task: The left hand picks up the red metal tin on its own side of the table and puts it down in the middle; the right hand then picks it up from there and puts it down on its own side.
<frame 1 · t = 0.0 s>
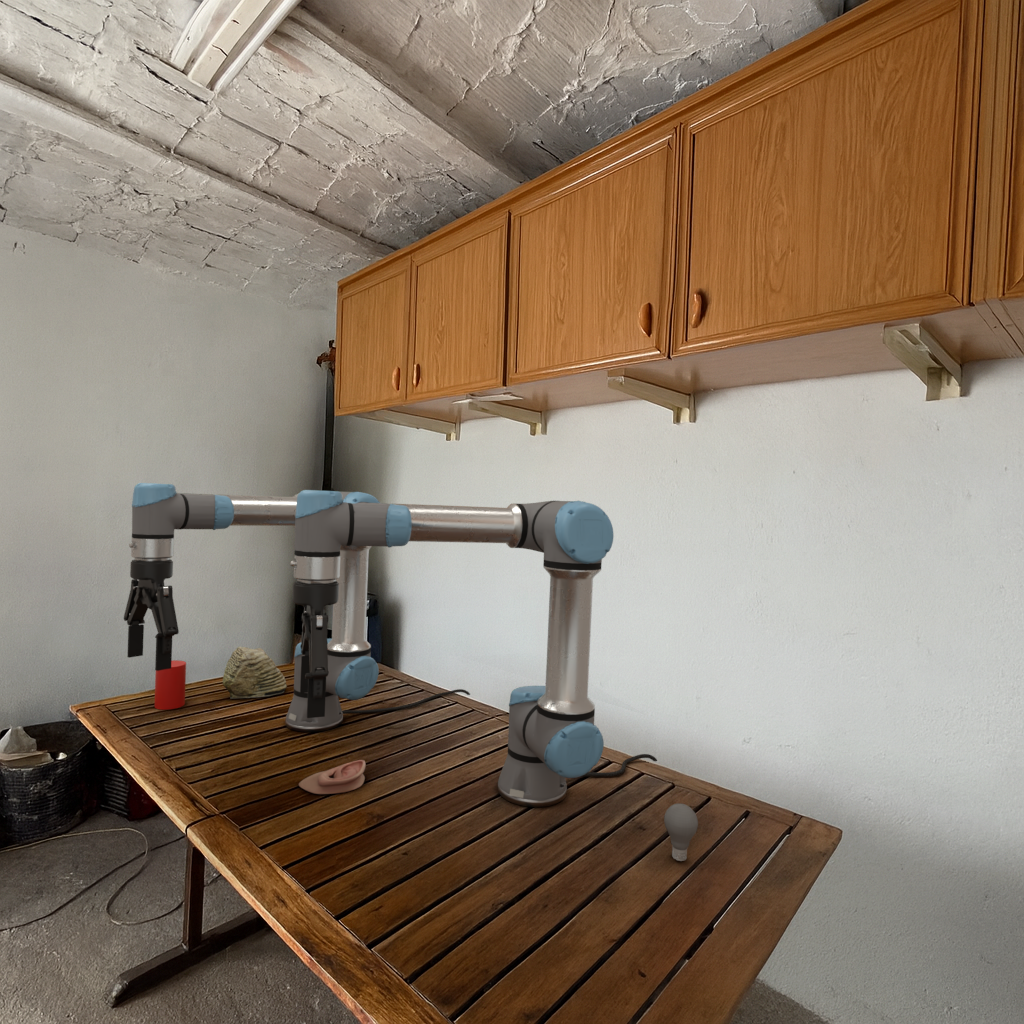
left hand: (148, 662, 129), 28 cm above the table, tool pointing down, fingers open, 13 cm apart
right hand: (311, 703, 109), 28 cm above the table, tool pointing down, fingers open, 13 cm apart
tin: (169, 705, 185), on the table
anatomical model: (332, 784, 140), on the table
fossil: (254, 694, 198), on the table
light bulb: (679, 860, 116), on the table
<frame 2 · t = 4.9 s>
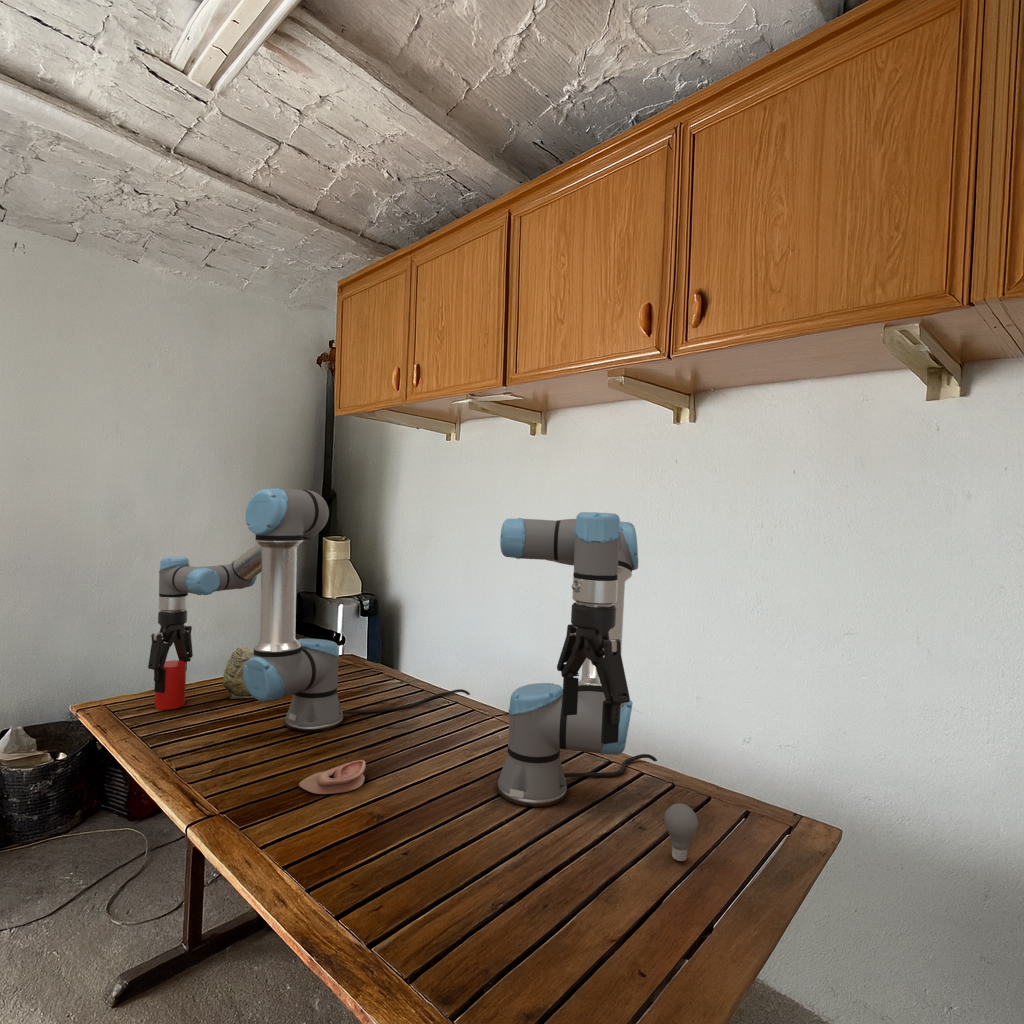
left hand: (170, 687, 185), 5 cm above the table, tool pointing down, fingers closed on tin, 8 cm apart
right hand: (588, 727, 108), 26 cm above the table, tool pointing down, fingers open, 13 cm apart
tin: (169, 705, 185), on the table, touching left hand
everything else where it was.
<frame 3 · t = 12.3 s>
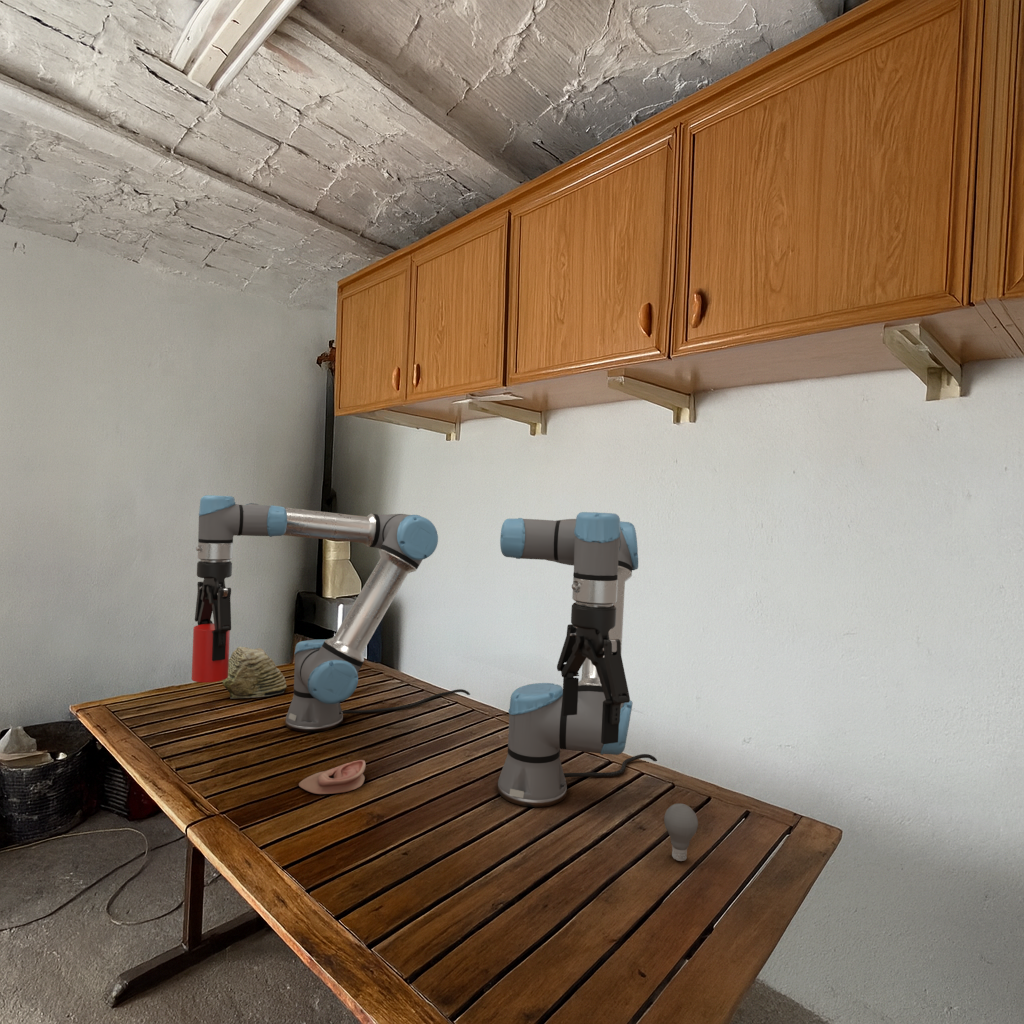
left hand: (211, 656, 150), 24 cm above the table, tool pointing down, fingers closed on tin, 8 cm apart
right hand: (588, 727, 108), 26 cm above the table, tool pointing down, fingers open, 13 cm apart
tin: (209, 677, 150), point 19 cm above the table, touching left hand
everything else where it was.
when the left hand's fingers open (7 cm above the table, at t = 19.7 s): tin drops 1 cm, on the table.
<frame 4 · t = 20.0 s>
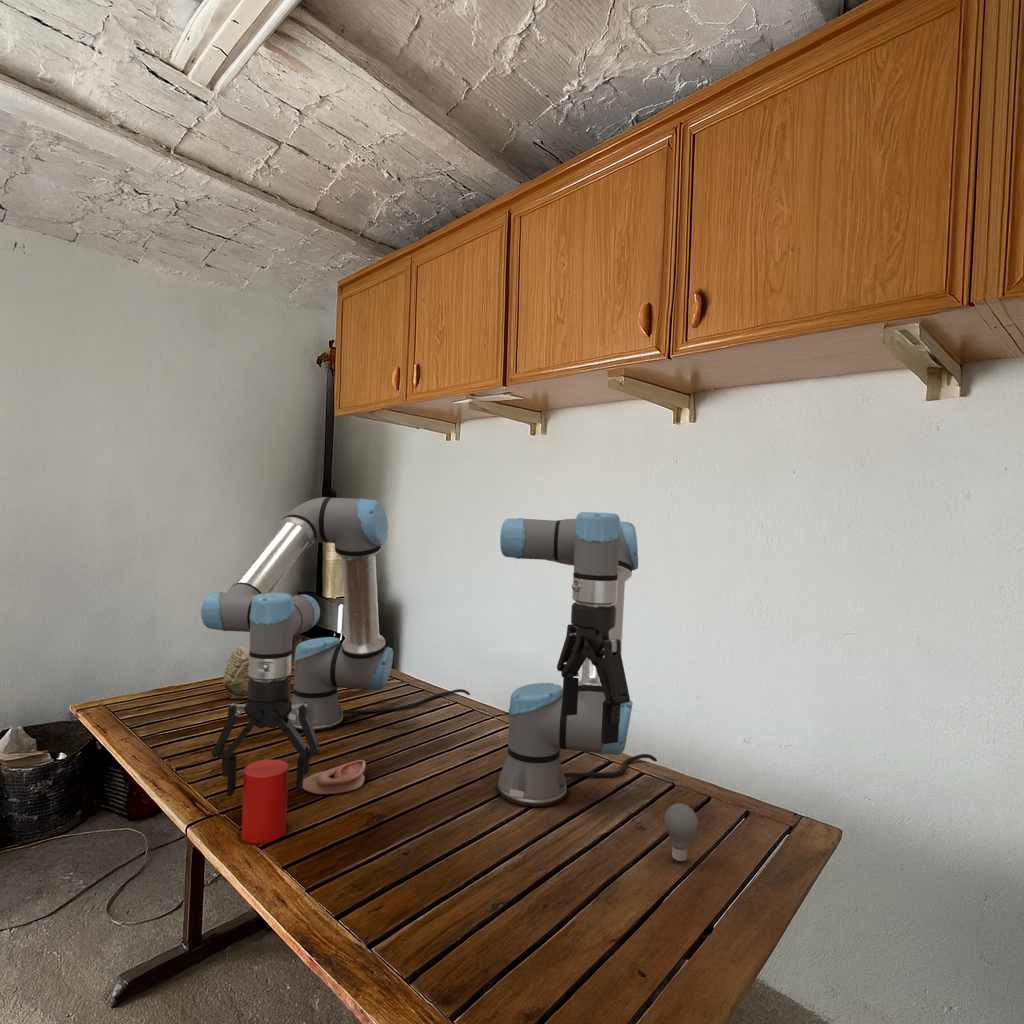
left hand: (265, 792, 119), 8 cm above the table, tool pointing down, fingers open, 11 cm apart
right hand: (588, 727, 108), 26 cm above the table, tool pointing down, fingers open, 13 cm apart
tin: (264, 832, 119), on the table
everything else where it was.
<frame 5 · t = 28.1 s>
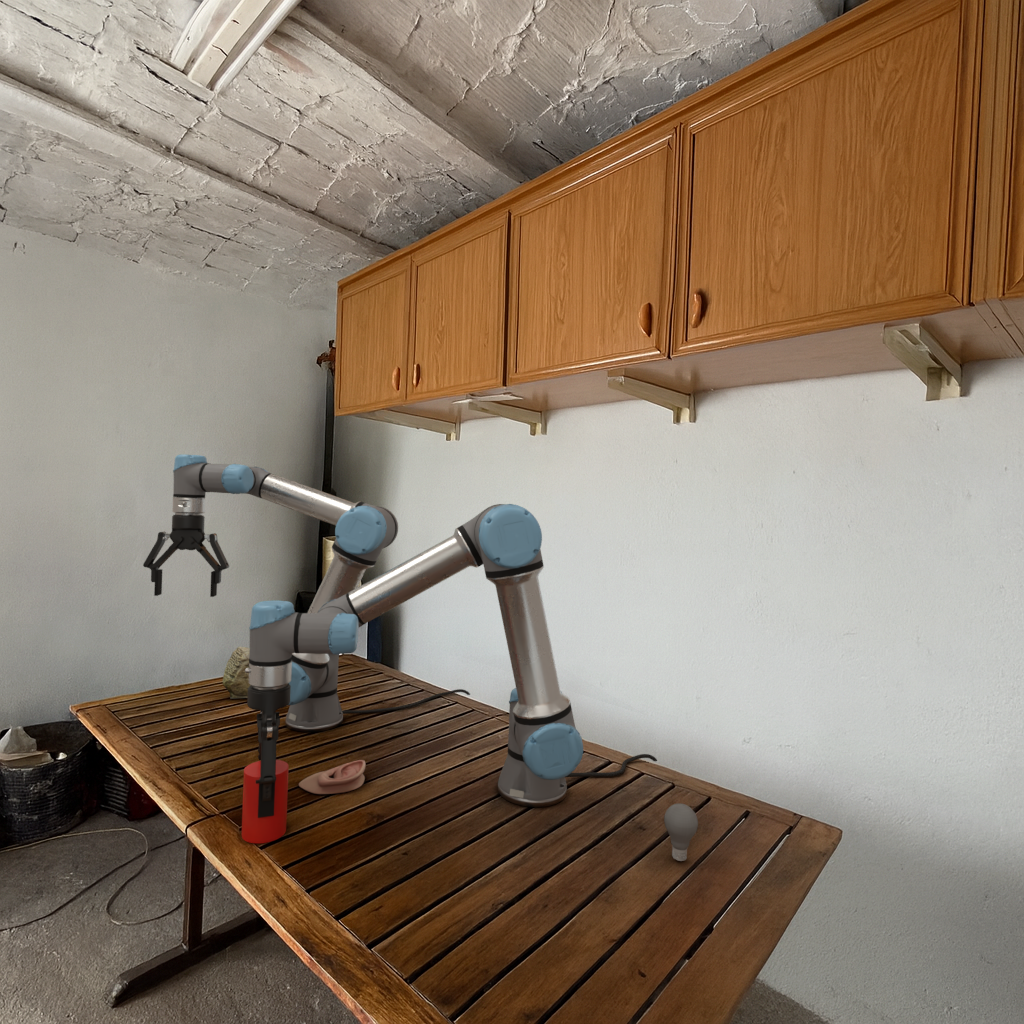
left hand: (185, 595, 165), 36 cm above the table, tool pointing down, fingers open, 13 cm apart
right hand: (265, 804, 119), 5 cm above the table, tool pointing down, fingers closed on tin, 8 cm apart
tin: (264, 832, 119), on the table, touching right hand
everything else where it was.
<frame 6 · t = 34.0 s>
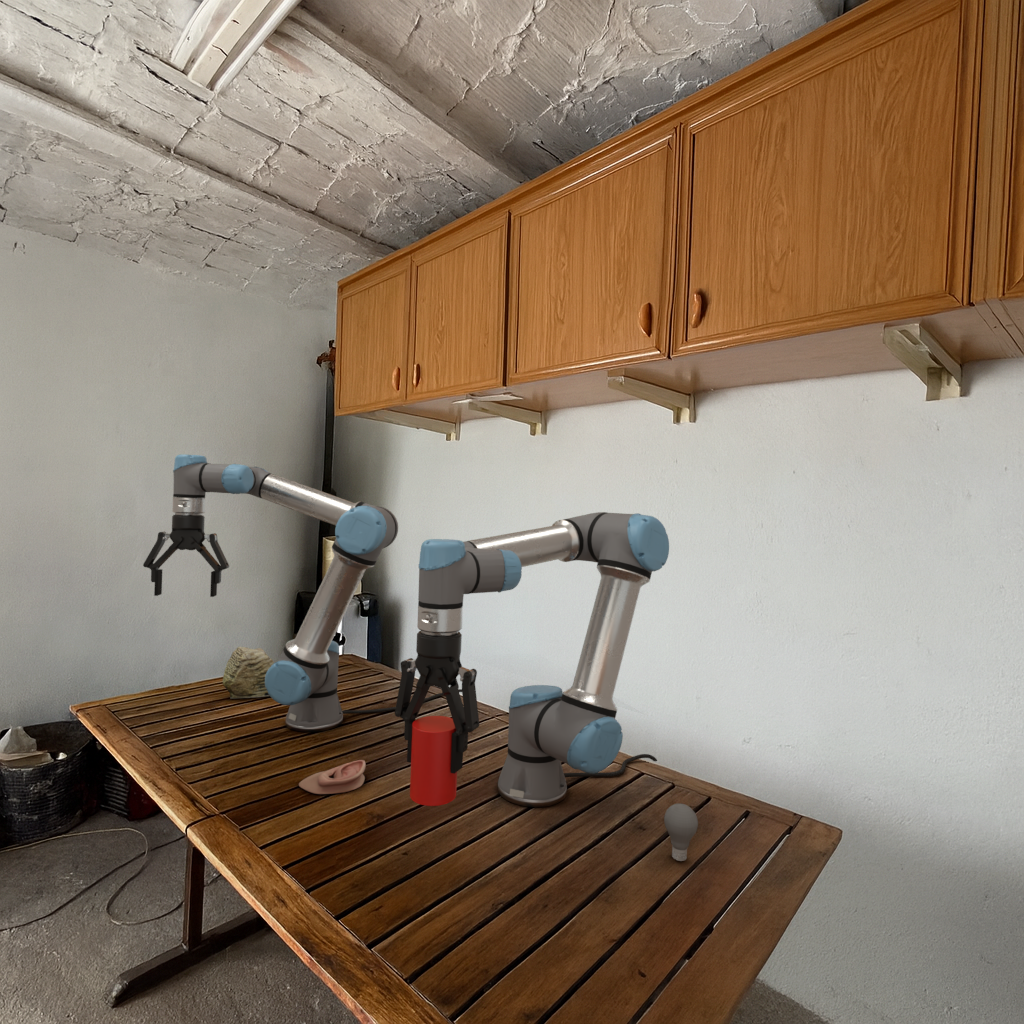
left hand: (185, 595, 165), 36 cm above the table, tool pointing down, fingers open, 13 cm apart
right hand: (434, 764, 107), 19 cm above the table, tool pointing down, fingers closed on tin, 8 cm apart
tin: (433, 794, 107), point 14 cm above the table, touching right hand
everything else where it was.
when the right hand's fingers open (7 cm above the table, at t = 39.9 s): tin drops 1 cm, on the table.
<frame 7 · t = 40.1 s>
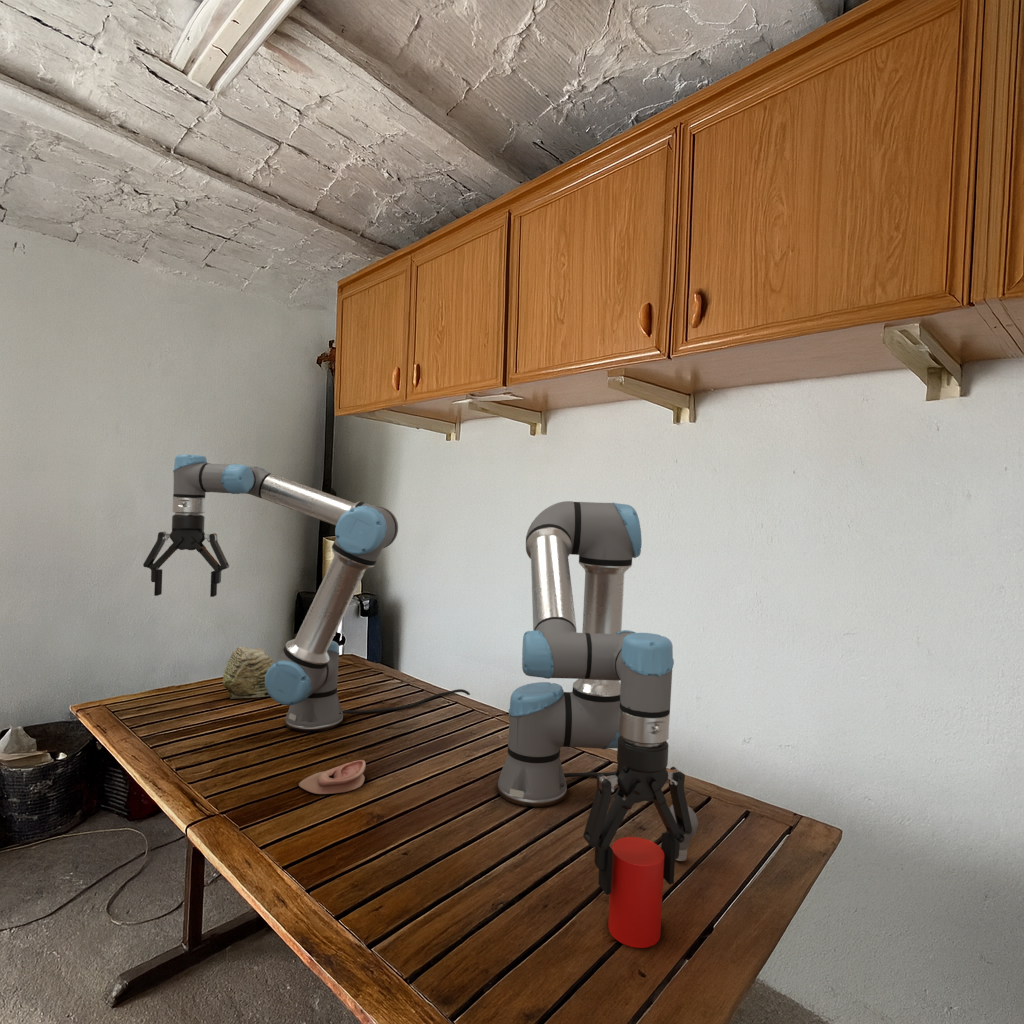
left hand: (185, 595, 165), 36 cm above the table, tool pointing down, fingers open, 13 cm apart
right hand: (636, 883, 96), 7 cm above the table, tool pointing down, fingers open, 10 cm apart
tin: (634, 930, 96), on the table
everything else where it was.
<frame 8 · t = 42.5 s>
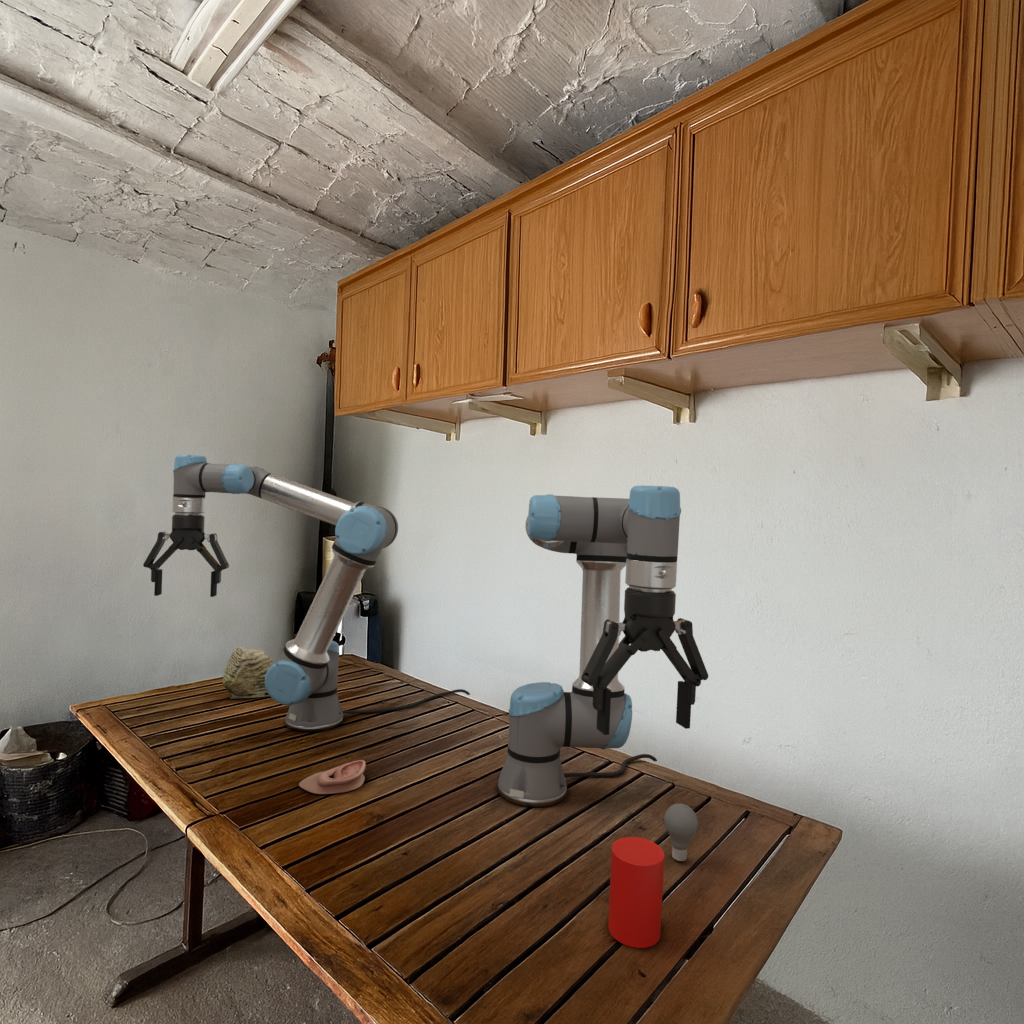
left hand: (185, 595, 165), 36 cm above the table, tool pointing down, fingers open, 13 cm apart
right hand: (643, 728, 96), 31 cm above the table, tool pointing down, fingers open, 13 cm apart
nothing on the table moved.
at the end: tin inside the target area (0.0 cm from its centre), on the table; tin tilted 0°; the two hands never held the tin at the same time; the left hand is holding nothing; the right hand is holding nothing; tin at rest at the end (0.0 cm/s) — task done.
